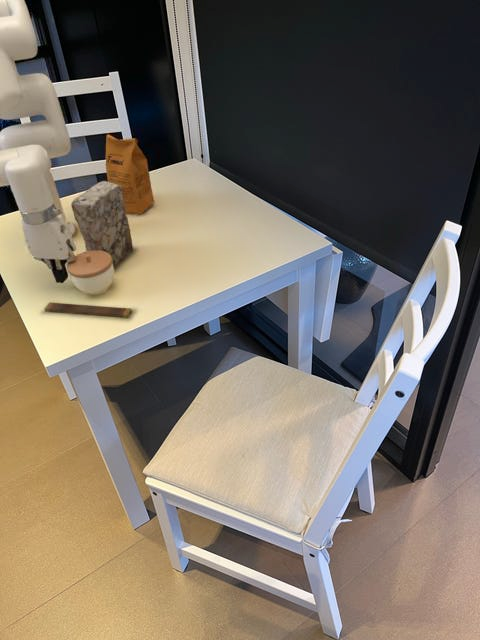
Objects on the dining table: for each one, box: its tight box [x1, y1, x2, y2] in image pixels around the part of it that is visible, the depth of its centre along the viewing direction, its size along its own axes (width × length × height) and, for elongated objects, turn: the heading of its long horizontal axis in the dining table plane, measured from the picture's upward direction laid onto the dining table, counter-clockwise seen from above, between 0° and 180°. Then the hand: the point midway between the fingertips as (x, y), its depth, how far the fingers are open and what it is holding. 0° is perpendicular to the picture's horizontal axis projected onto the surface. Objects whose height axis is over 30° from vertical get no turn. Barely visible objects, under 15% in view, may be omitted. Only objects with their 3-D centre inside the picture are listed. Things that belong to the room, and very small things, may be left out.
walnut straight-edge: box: [44, 302, 133, 319], centre depth 121 cm, size 21×2×1 cm, turn 78°
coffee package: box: [105, 133, 155, 215], centre depth 155 cm, size 10×12×22 cm
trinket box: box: [66, 250, 115, 296], centre depth 126 cm, size 11×11×9 cm
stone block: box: [70, 180, 134, 269], centre depth 132 cm, size 13×7×20 cm, turn 161°
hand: (62, 279), depth 129 cm, fingers closed
